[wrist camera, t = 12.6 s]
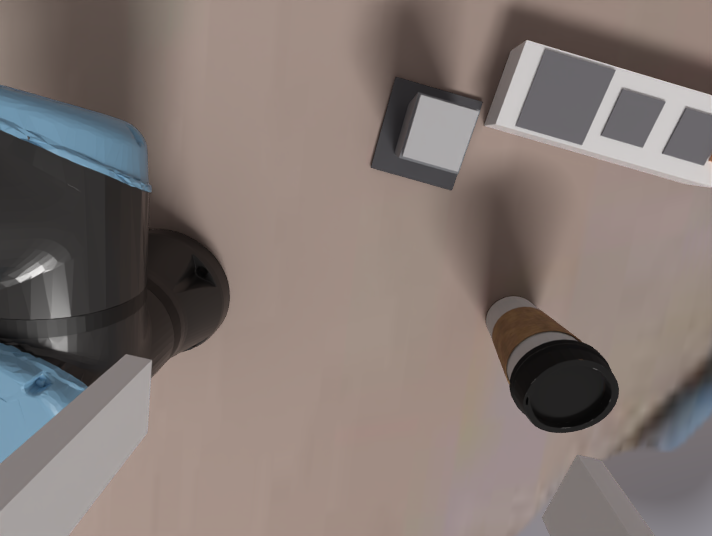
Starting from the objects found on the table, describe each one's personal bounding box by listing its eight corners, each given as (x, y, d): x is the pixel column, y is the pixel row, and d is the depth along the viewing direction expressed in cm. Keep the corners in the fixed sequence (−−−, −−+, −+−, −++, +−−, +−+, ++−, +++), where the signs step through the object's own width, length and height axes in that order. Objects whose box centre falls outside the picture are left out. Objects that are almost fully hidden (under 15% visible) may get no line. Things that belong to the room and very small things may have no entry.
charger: (394, 153, 39) (399, 158, 30) (408, 103, 37) (419, 91, 28) (439, 166, 39) (459, 175, 30) (456, 117, 38) (482, 109, 28)
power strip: (483, 125, 38) (498, 123, 34) (510, 50, 36) (530, 37, 31) (747, 201, 39) (795, 209, 35) (789, 133, 37) (847, 132, 32)
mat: (370, 167, 40) (370, 167, 40) (395, 77, 37) (395, 76, 37) (451, 190, 40) (451, 190, 40) (481, 102, 37) (482, 102, 37)
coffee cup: (476, 286, 44) (524, 356, 30) (551, 284, 43) (635, 355, 29) (473, 349, 47) (515, 441, 32) (543, 348, 46) (617, 441, 32)
